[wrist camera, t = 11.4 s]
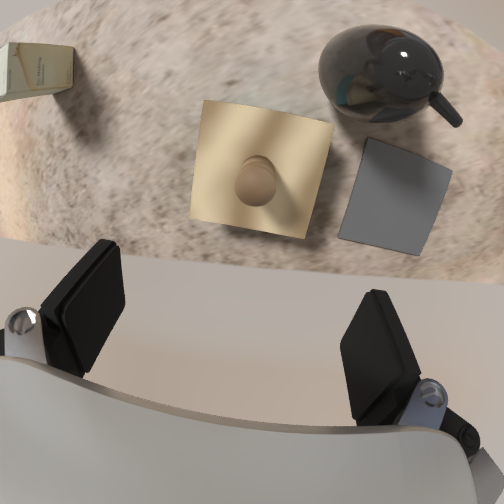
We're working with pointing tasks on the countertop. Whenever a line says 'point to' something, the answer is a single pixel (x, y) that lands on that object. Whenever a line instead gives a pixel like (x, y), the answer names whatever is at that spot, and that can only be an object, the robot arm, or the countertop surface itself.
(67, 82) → the skincare box
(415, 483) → the robot arm
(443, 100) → the pump dispenser
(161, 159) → the countertop surface
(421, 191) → the mat
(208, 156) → the lid
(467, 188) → the countertop surface
